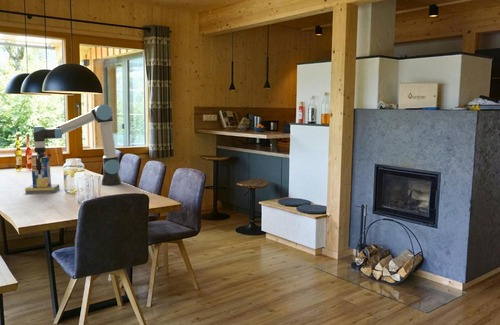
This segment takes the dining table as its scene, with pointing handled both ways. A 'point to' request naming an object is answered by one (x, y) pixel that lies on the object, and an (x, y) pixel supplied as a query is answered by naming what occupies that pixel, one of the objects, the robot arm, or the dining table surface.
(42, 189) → the panel
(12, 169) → the dining table surface
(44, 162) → the beverage box
